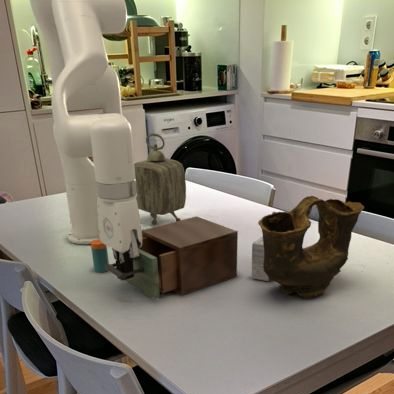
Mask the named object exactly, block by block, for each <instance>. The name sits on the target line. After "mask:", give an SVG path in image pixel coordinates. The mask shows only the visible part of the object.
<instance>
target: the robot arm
mask: <svg viewBox="0 0 394 394" xmlns="http://www.w3.org/2000/svg"><path fill="white" fill-rule="evenodd" d="M29 3H30V7H31V10H32V13H33V16H34V19H35V21H36V23H37V25H38V27H39V29H40V31H41V33H42V36H43V38H44V41H45V44H46V50H47V56H48V63H49V70H50V76H51V83H52V94H51V112H52V113H51V114H52V118H53V125H52V132H53V133H52V134H53V139H54V142H55V145H56V148H57V151H58V155H59V159H60V163H61V164H60V165H61V168H62V173H63V180H64V181H63V182H64V187H65V194H66V200H67V205H68V206H67V207H68V212H69V219H70V220H69V223H70V225H71V230H70V231H69V232H68V233H67V236H66V237H67V240H68V241H69V242H70V243H73V244H75V245H76V244H77V245H91V241H93V240H97V239H100V241H101V242H102V243H103V244H105V245H107V247H108V248H110V249H111V250H112V256H113V259H114V261H115V262H114V263H116V267H115V268H117V269H119V270H121V271H122V272H124V273H126V272H130V271H133V270H134V269H133V260H134V258H135V257H139V251H138V248H141V247H142V230H143V229H142V222H141V216H140V209H138V205H137V200H136V197H137V192H136V180H135V167H134V164H135V156H134V145H133V143H134V142H133V131H132V126H131V123H130V122H129V121H128V119H127V118H126V117H125V116H124V115H123V109H122V107H123V106H122V94H121V85H120V79H119V76H118V73H117V71H116V69H115V68H114V66H112V65H110V64H109V58H108V54H107V50H106V46H105V42H104V41H105V40H104V37H103V35H109V34H110V35H115V34H121V33H123V32H124V31H125V29H126V28H127V23H128V10H127V5H126V1H125V0H29ZM96 108H100V109H102V112H91V113H87V112H86V113H85V112H84V113H71V114H69V112H68V110H78V109H96ZM92 156H93V162H94V163H93V162H92V161H91V160H90V159H89V158H88V157H92ZM127 251H128V252H127ZM116 277H117V276H116ZM133 277H134V274H133V275H129V276H127V277H126V278H125V279H121V278H119V277H117V279H119V280H120V281H124V280H127V279H130V278H133Z"/></svg>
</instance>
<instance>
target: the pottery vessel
mask: <svg viewBox="0 0 394 394" xmlns="http://www.w3.org/2000/svg"><path fill="white" fill-rule="evenodd" d="M314 206H315V208H316V209H317V212H318V223H317V233H318V235H319V238H318V241H317V242H315V243H313V244H311V245H308V246H306V247H303V244H304V239H305V236H306V233H307V231H308V229H310V228H311V225H312V222H311V220H310V219H309V215H310V214H311V212H312V209H313V207H314ZM364 209H365V206H364V205H363V204H362V203H361V202H358V201H356V202H351V201H350V200H348V201H343V200H340V199H338V198H335V199H333V198H328V199H326V200H324V199H322V198H319V197H317V196H315V195H309V196H308V195H307V196H305V197H304V198H303V199H301V200H300V201H299V202H298V204H297V205H296V206H294V208H292V209H291V210H290V211H272V212H271V213H270V214H267V215H264V216H263V217H261V219H259V220H258V221H257V225H258V226H259V227H260V229H261V233H262V237H263V246H264V263H263V268H264V272H265V273H266V274H267V276H268V278H269V279H271V280H272V281H273V282H275V283H277V284H279V285H280V286H279V288H278V291H279V292H281V293H285V294H286V295H291V294H293V293H297V294H298V296H300V297H302V298H304V299H310V298H315V297H316V296H317V297H318V296H322V295H324V293H325V292H326V291H327V288H328V287H330V285H331V282H332V281H333V279H334V278H335V277H336V276H338V274H339V273H341V269H342V268H343V267H344V266H345V264H346V263H347V261H348V260H349V248H350V243H351V240H352V232H353V230H354V229H355V226H356V225H357V223H358V220H359V217H360V214H361V213H362V212H363V210H364ZM271 280H270V281H271Z"/></svg>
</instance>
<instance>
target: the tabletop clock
mask: <svg viewBox="0 0 394 394" xmlns="http://www.w3.org/2000/svg"><path fill="white" fill-rule="evenodd" d="M150 137H157V138H159V139H160V140H161V141H162V145H161V146H159V147H158V144H156V143H154V144H153V145H150V144H149V139H150ZM145 143H146V145H147V147H148V148H149V149H151V150H152V151H150V152H149V153H148V155H147V159H145V160H141V161H137V162H134V167H135V180H136V192H137V197H136V200H137V205H138V209H139V211H143V212H145V213H149V216H150V217H151V218H153V219H152V220H151V223H152V225H154V226H155V225H157V224H158V220H157V215H159V216H166V215H167V214H170V215H172V216H173V218H174V219H175V222H176V221H180V220H182V219H181V218H180V217H178V216H177V214H176V213H175V212H177V211H180V210H182V209H185V206H186V200H187V182H186V174H185V169H184V166H183V163H181V162H179V161H178V160H174V159H172V158H168V157H166V156H165V153H163V152H162V151H161V150H163V148H165V145H166V144H165V143H166V142H165V139H164V138H163V136H162V135H160V134H158V133H153V132H152V133H149V134H148V135H147V136H146V139H145Z"/></svg>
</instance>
